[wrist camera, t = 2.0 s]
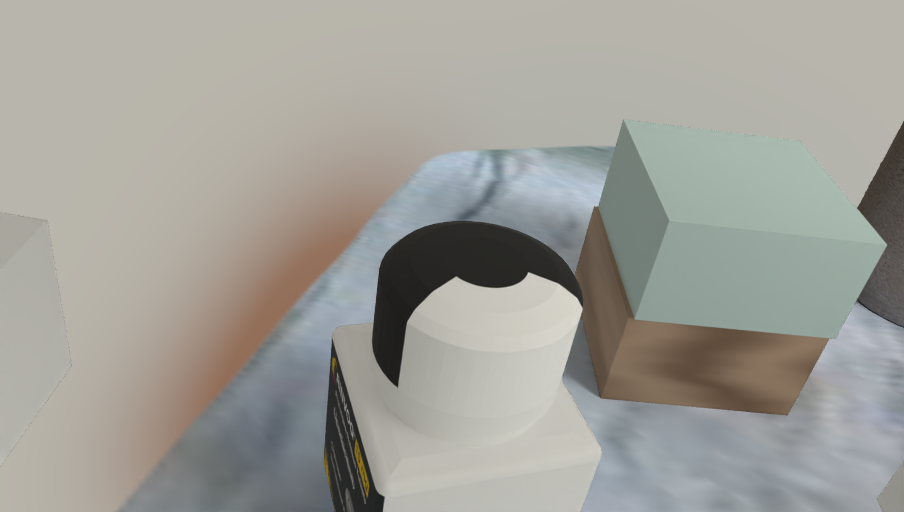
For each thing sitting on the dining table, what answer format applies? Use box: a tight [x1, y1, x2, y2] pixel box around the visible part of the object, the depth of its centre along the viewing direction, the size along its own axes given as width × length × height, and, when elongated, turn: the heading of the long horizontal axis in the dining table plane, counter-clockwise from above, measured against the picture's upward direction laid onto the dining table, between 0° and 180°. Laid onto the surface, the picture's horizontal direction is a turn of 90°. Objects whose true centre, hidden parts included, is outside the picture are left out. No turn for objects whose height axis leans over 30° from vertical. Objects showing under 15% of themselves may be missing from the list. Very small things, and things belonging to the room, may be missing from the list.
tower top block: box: [598, 120, 887, 339], centre depth 36 cm, size 9×9×5 cm
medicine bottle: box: [324, 221, 602, 512], centre depth 26 cm, size 7×7×12 cm
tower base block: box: [575, 206, 829, 415], centre depth 39 cm, size 9×9×5 cm
